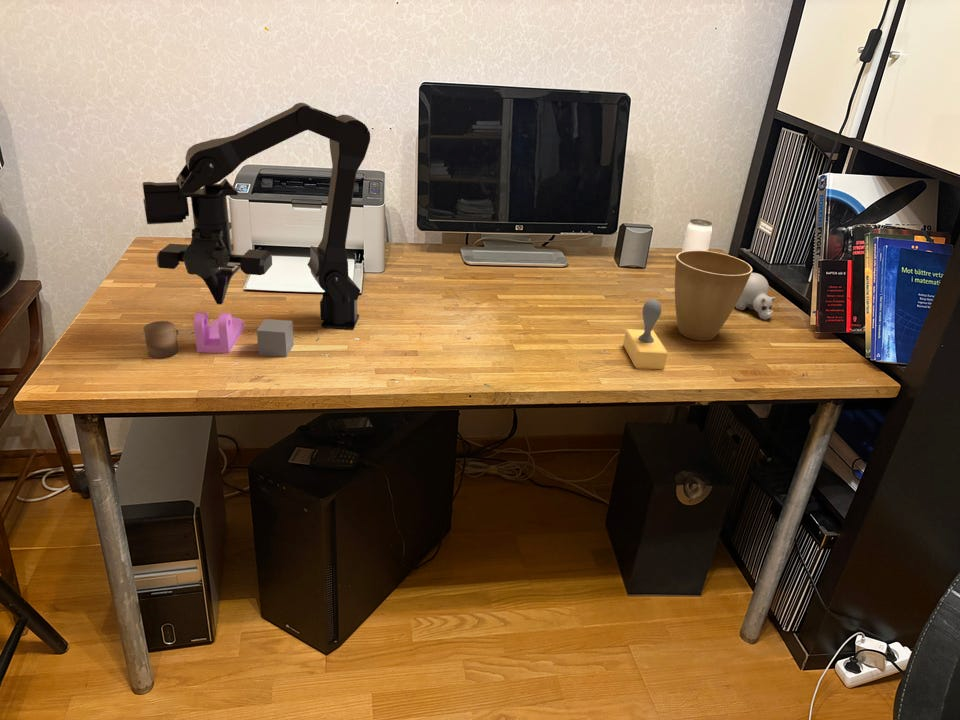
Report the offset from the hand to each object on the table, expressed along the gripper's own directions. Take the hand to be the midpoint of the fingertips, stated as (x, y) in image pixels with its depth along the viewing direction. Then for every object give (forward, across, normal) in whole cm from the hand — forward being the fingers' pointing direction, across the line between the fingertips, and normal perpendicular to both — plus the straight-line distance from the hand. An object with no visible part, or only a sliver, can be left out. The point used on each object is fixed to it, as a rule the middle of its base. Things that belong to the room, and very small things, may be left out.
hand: (220, 303), depth 129 cm
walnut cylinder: (+7, -8, -8) cm, 13 cm away
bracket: (+7, 0, 0) cm, 7 cm away
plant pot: (+7, +94, +17) cm, 96 cm away
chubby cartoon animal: (+7, +110, +32) cm, 115 cm away
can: (+7, +104, +62) cm, 121 cm away
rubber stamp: (+7, +80, +4) cm, 80 cm away
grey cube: (+7, +11, -4) cm, 14 cm away
